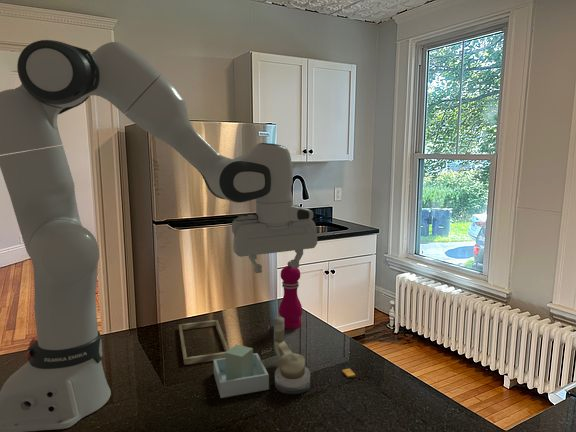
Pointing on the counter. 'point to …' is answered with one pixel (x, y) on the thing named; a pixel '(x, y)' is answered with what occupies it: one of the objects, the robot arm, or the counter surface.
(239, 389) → the tray
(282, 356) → the crank
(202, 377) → the counter surface
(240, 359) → the block
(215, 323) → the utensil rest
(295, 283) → the pepper mill
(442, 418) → the counter surface
